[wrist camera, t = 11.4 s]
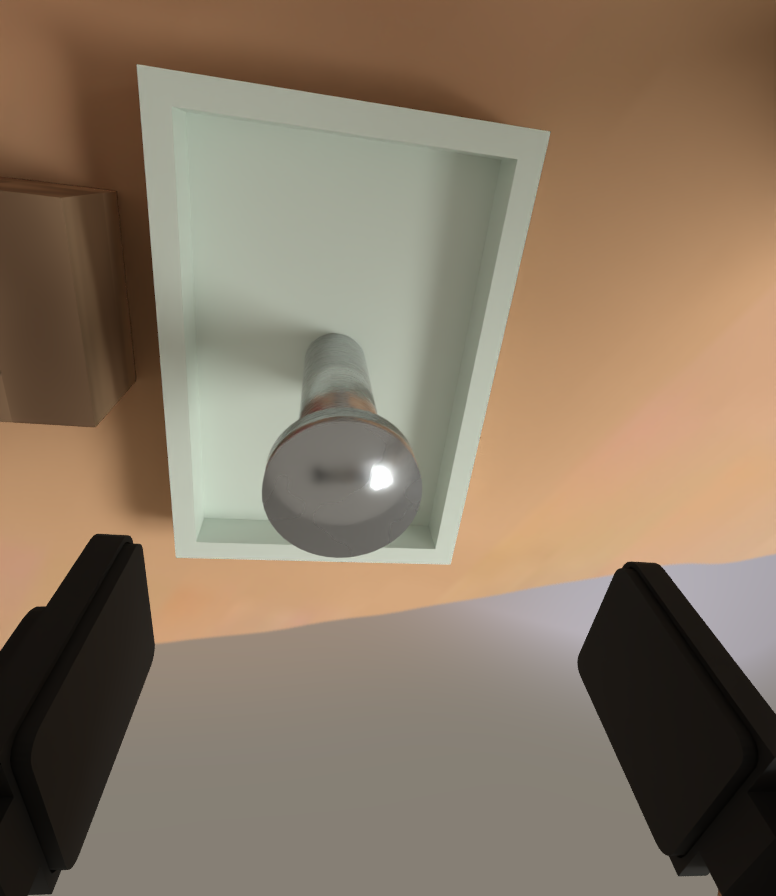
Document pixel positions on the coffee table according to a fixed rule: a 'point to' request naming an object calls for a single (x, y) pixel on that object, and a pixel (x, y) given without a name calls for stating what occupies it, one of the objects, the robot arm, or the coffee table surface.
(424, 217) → the tray
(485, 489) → the coffee table surface
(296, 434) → the pin
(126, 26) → the coffee table surface
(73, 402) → the hitch block
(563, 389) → the coffee table surface
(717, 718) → the robot arm
